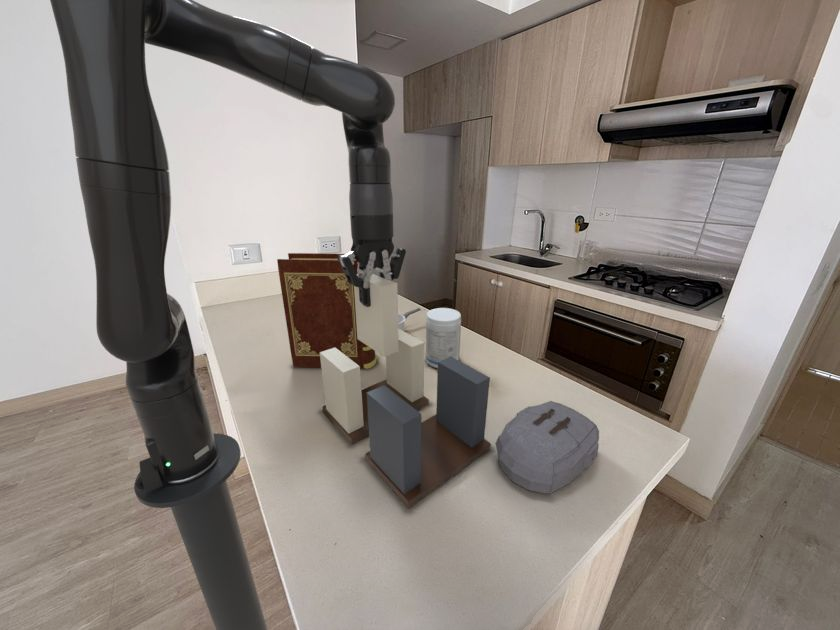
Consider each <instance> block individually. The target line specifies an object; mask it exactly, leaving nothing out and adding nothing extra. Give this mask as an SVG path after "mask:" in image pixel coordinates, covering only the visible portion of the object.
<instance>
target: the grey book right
mask: <svg viewBox="0 0 840 630" xmlns="http://www.w3.org/2000/svg"><path fill="white" fill-rule="evenodd" d="M436 378H437V379H436V410H435V412H436V413H435V415H436V421H437V422H439V423H440V424H441V425H443V426H444V427H445V428H447V429H448V430H449V431H451V432H452V433H453V434H454V435H456V436H457V437H458V438H460V439H461V440H462V441H464V442H465V443H466V444H468V445H469V446H470V447H474V446H475V445H477V444H478V443H479V442H481V441H482V440H484V439H485V434H486V433H485V432H486V422H487V415H488V414H487V413H488V404H489V403H488V402H489V393H490V382H491V377H490V376H489V375H486V374H485V373H482V372H480V371H479V370H477V369H476V368H473V367H471V366H469V365H468V364H466V363H464V362H463V361H460V360H459V361H458V360H456V359H455V358H453V357H448V358H446V359H444V360H441V361H439V362H438V368H437V377H436Z"/></svg>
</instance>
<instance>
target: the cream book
mask: <svg viewBox="0 0 840 630" xmlns="http://www.w3.org/2000/svg"><path fill="white" fill-rule="evenodd" d="M357 276H358V274H357ZM398 286H399V285H398V282H395V281H393V280H392V281H390V280H387V279H385V278H382V277H380V276H379V275H377V274H374V273H372V276H371V277H370V283H369V287H368V288H370V299H371V306H369V307H366V306H364V305H363V304H362V303H360V300H359V287H355V286H354V294H355V309H356V324H357V339H358V340H360V341H361V342H363V343H364V344H366V345H367V346H369V347H370V348H372V349H373V350H375V353H377V354H379V355H380V356H382V357H383V358H386V356H388V355H390V354H393V353H396V352H398V351H399V348H398V313H399V293H398V290H399V289H398V288H399V287H398Z"/></svg>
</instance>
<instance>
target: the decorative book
mask: <svg viewBox="0 0 840 630" xmlns="http://www.w3.org/2000/svg"><path fill="white" fill-rule="evenodd" d="M345 254H346V253H321V252H319V253H318V252H317V253H314V252H313V253H311V252H310V253H309V252H288V253H287V257H288V258H287V259H286V258H277V260H276V262H277V270H278V275H279V276H278V277H279V283H280V291H281V297H282V303H283V309H284V317H285V323H286V331H287V337H288V343H289V349H290V356H291V362H292V366H293V367H294V368H320V369H321V360H320V352H322V351H325V350H329V349H332V348H337V349H338V350H339V351H341V352H342V353H343V354H344V355H346V356H347V357H348V358H350V359H351V360H352V361H353V362H355V363H356V364H357V365H359V366H360V369H361V368H363V369H366V370H368V369H371V368H373V367H374V366H375V365H376V363H377V359H378V358H377V352H376V351H375V350H373V349H372V348H370V347H369V346H367V345H366V344H364V343H363V342H361V341H360V340H358V339H357V324H356V309H355V294H354V285H351V284H349V283H348V281H347V278H346V276H345V274H344V272H343V270H342V268H341V266H340V263H339V261H338V256H339V255H345ZM353 267H354V269H355V271H356V273H357V267H358V261H357V260H356V259H355V258H354V265H353ZM365 270H366V268H365ZM357 274H358V273H357Z"/></svg>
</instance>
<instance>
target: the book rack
mask: <svg viewBox="0 0 840 630" xmlns="http://www.w3.org/2000/svg"><path fill="white" fill-rule="evenodd" d="M383 385H385V386H386V387H387V388H388V389H390V390H391V391H392V392H394V393H395V394H396V395H397V396H399V397H400V398H401V399H403V400H404V401H405V402H407V403H408V404H409V405H410V406H412V407H413V408H414V409H416V410H417V411H419V410H422V409H423V408H425V407H427V406H429V405H430V399H429V398H427V397H426V396H425V395H424V397H422V398H420V399H418V400H416V401H414V402H411V401H410V400H408V399H407V398H406V397H404V396H403V395H402V394H400V393H399V392H398V391H397V390H395V389H394V388H393V387H391V386H390V385H389V384H387V378H386V379H384V380H381V381H379V382H377V383H375V384H371V385H370V386H368V387H365V388H361V392H362V406H363V421H364V426H363V427H361V428H359V429H357V430H355V431H353V432H351V433H349V434H348V432H347V431H346V430H345V429H344V428H343V427H342V426H341V425H340V424H339V423H338V422H337V420H336V419H335V418H334V417H333V416H332V415H331V414H330V413H329V412H328V411H327V409H326V404H325V405H322V406H321V408H322V409H321V410H322V412H323V414H324V415H325V416H326V417H327V418H328V419H329V421H330V422H331V423H332V424H333V425H334V427H335V428H337V430H338V431H339V432H340V433H341V434H342V435H343V436H344V438H345V439H346V440H347V441H348V443H350V444H351V445H354V444H356V443H358V442H359V441H361V440H363V439H365V438H367V437H369V424H368V407H367V392H369V391H371V390H374V389H376V388H378V387H381V386H383ZM491 445H492V443H491V442H490V441H488V440H487V439H486V438H484V440H482V441H481V442H479V443H478V444H477V445H475V446H474V447H470V446H469V445H468V444H466V443H465V442H464V441H462V440H461V439H460V438H458V437H457V436H456V435H454V434H453V433H452V432H451V431H449V430H448V429H447V428H445V427H444V426H443V425H441V424H440V423H439V422H437V421H436V414H435V415H432V416H430V417H429V418H427V419H425V420H423V421H421V483H420V484H419V485H417V486H416V487H414V488H413V489H411V490H410V491H408V492H407V493H406V494H403V493H402V492H401V491H400V489H399V488H398V487H397V486H396V485H395V484H394V483H393V482H392V481H391V480H390V479H389V477H388V476H387V475H386V474H385V473H384V472H383V471H382V470H381V469H380V468H379V466H378V465H377V464H376V463H375V462H374V461H373V460H372V459H371V457H370V450H369V451H367V452H366V453H364V458H365V462H367V463H368V465H369V466H370V467H371V468H372V469H373V470H374V471H375V473H376V474H377V475H378V476H379V477H380V478H381V480H382V481H384V483H385V484H386V485H387V486H388V487H389V489H390V490H391V491H393V493H394V494H395V495H396V497H398V498H399V499H400V501H401V502H402V503H403V504H404V505H405V507H407V508H408V509H410V508H411V507H413V506H414V505H416V504H417V503H419V502H420V501H421V500H423V499H424V498H426V497H427V496H428V495H429V494H431V493H433V491H435V490H436V489H438V488H440V486H442V485H443V484H444V483H447V481H449V480H450V479H451V478H453V477H454V476H456V475H457V474H458V473H460V472H461V471H462V470H464V469H465V468H467V467H468V466H470V465H471V464H473V462H475V461H476V460H477V459H479V458H481V457H482V456H483V455H485V454H486V453H487V452H489V451H490V450H491Z"/></svg>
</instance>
